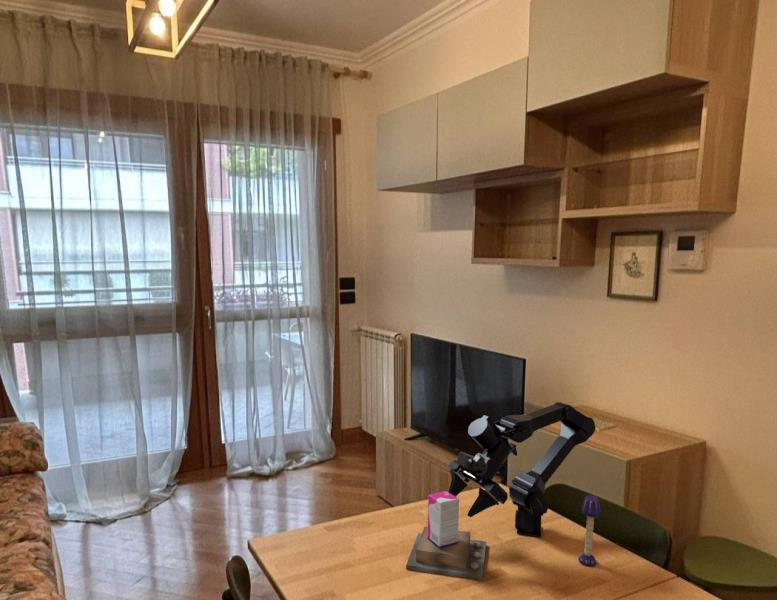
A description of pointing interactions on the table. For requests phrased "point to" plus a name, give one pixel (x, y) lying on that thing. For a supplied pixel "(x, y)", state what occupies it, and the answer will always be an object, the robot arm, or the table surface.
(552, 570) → the table surface
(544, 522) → the table surface
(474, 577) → the walnut brick base
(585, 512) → the toy lamp
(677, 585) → the table surface
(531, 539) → the table surface
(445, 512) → the supplement box
